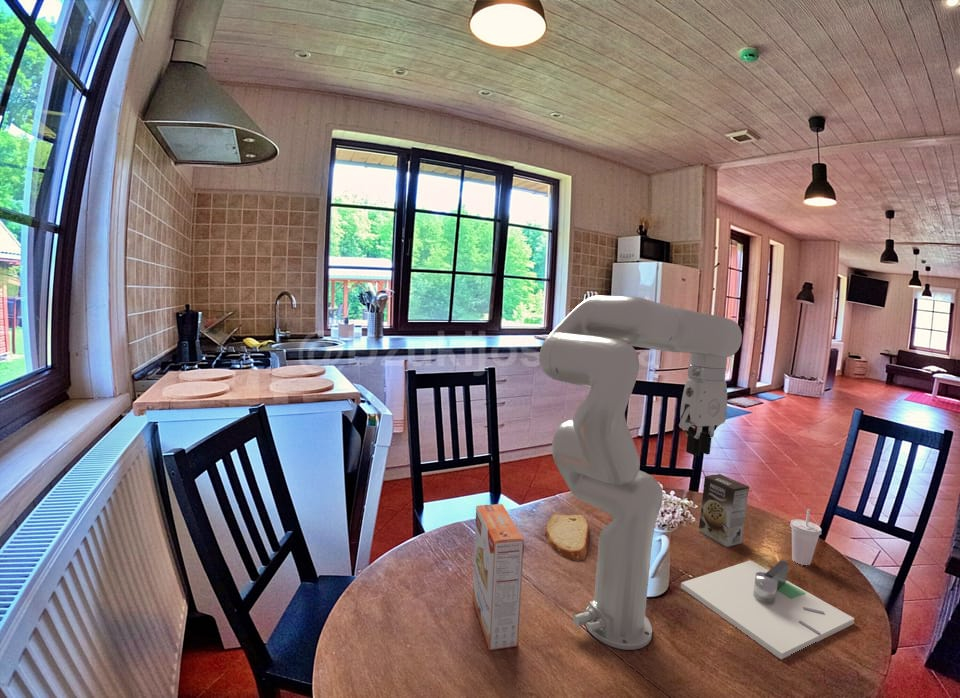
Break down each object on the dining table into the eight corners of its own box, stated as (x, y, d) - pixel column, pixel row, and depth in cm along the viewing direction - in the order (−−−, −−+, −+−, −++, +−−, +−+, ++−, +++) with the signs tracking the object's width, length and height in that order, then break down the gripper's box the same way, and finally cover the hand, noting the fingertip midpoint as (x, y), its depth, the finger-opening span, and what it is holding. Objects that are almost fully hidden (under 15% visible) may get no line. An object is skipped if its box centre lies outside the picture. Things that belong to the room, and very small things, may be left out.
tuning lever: (770, 606, 95) (773, 586, 94) (750, 595, 98) (752, 576, 98) (792, 584, 103) (795, 565, 102) (772, 575, 106) (775, 557, 105)
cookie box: (697, 531, 129) (703, 475, 127) (713, 527, 131) (719, 472, 129) (726, 547, 120) (733, 488, 119) (743, 543, 123) (750, 485, 121)
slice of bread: (574, 565, 110) (575, 550, 109) (523, 532, 124) (523, 519, 124) (620, 543, 121) (621, 530, 120) (568, 515, 135) (569, 503, 134)
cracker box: (470, 600, 95) (475, 503, 92) (498, 597, 96) (504, 502, 94) (486, 652, 81) (492, 540, 79) (519, 648, 83) (526, 538, 80)
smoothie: (787, 564, 114) (794, 510, 113) (784, 551, 120) (791, 500, 118) (818, 572, 111) (826, 517, 110) (814, 559, 117) (821, 507, 115)
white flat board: (781, 659, 83) (782, 652, 83) (680, 587, 102) (681, 581, 102) (853, 623, 93) (854, 617, 93) (749, 564, 113) (750, 559, 113)
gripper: (695, 378, 96) (686, 463, 98) (745, 375, 103) (736, 455, 105) (666, 372, 103) (659, 451, 105) (715, 370, 110) (707, 444, 112)
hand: (697, 452), depth 105 cm, fingers open, 2 cm apart
